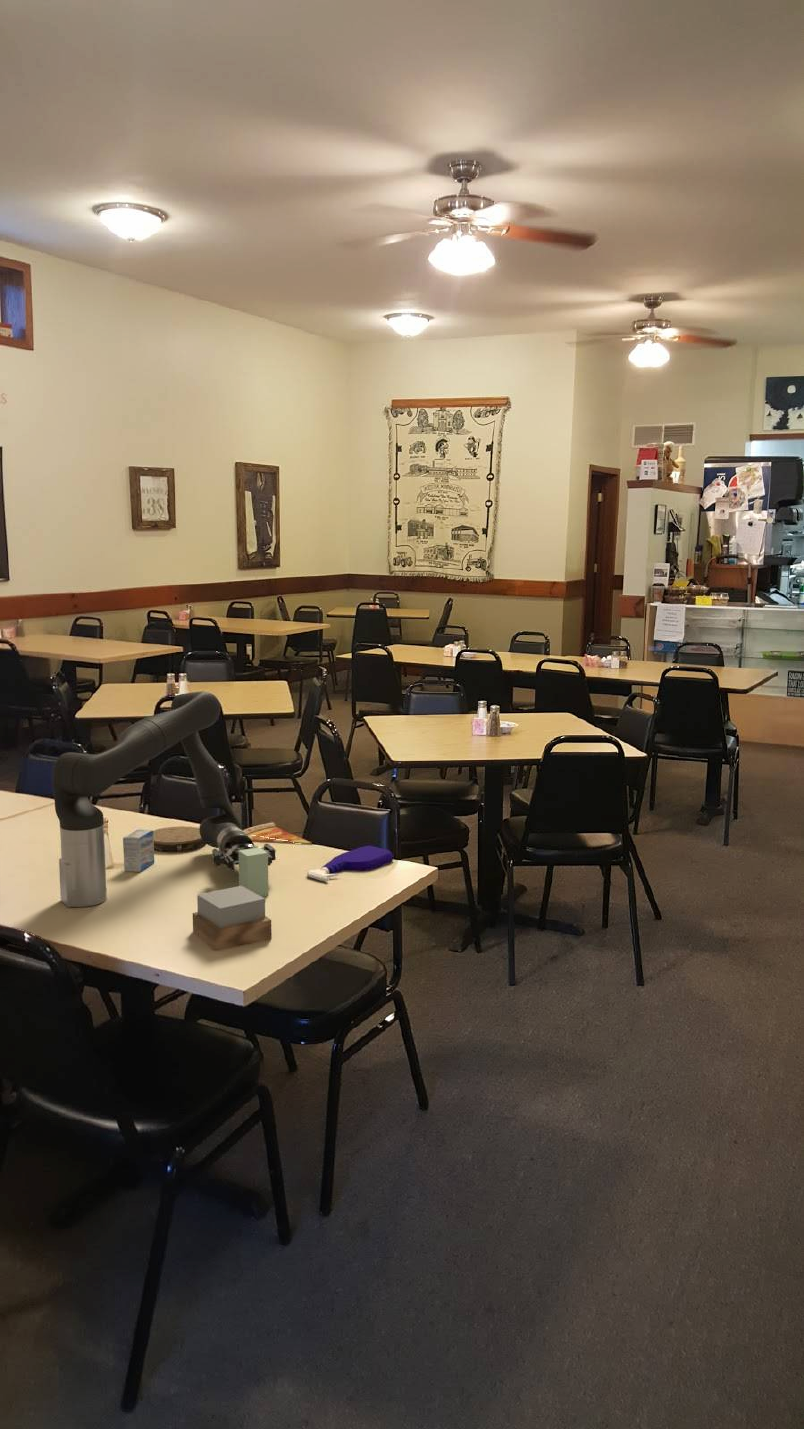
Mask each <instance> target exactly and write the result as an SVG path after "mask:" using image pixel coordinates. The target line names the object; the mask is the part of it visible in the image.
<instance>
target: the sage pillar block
mask: <svg viewBox="0 0 804 1429" xmlns="http://www.w3.org/2000/svg"><path fill="white" fill-rule="evenodd" d="M257 847H258V848H252V849H246V850H239V865H238V884H239V885H238V886H243V887H245V888H246V889H248V890H250V891H252V892H254V893H256V894H257V895H259V896H261V897H263V898H264V897H268V896H269V866H268V853H267V852H266V851H264V850H262V849H261V848H262V847H261V848H259V847H260V846H257Z"/></svg>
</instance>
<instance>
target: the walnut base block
mask: <svg viewBox="0 0 804 1429" xmlns="http://www.w3.org/2000/svg"><path fill="white" fill-rule="evenodd" d="M192 932H193V933H194V934H195V935H196V936H198V937H199V939H201V941H203V942H204V943H205V944H206V945H208V947H210V948H211V949H213V951H215V952H217V951H223V950H227V949H231V948H235V947H241V946H246V945H250V944H251V945H252V944H255V943H260V942H264V941H269V940H272V938H273V937H272V936H273V934H272V919H271V918H269V917H268V916H266V915H265V918H261V919H257V920H253V921H249V922H245V923H240V924H236V925H232V926H227V927H223V928H219V927H218V926H216V925H215V924H213V923H212V922H210V921H208V920H207V919H205V918H204V917H202V916H201V915H199V914H198V911H197V912H195V911H194V912H192Z"/></svg>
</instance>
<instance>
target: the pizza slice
mask: <svg viewBox="0 0 804 1429" xmlns="http://www.w3.org/2000/svg"><path fill="white" fill-rule="evenodd" d="M242 831H244V832H245V833H246V834H247V835H248V837H249V838H250V839H251V840H252V841H253V843H254V842H256V843H275V844H293V845H294V844H295V843H301V844H300V845H310V846H311V845H313V842H312V841H308V840H307V839H304V838H302V837H300V836H297V835H294V834H293V833H291V832H288V831H286V830H283V829H282V828H279V827H276V823H274V822H266V823H261V824H258V825H254V826H251V827H248V828H245V829H242ZM251 835H256V836H251ZM260 836H264V838H263V837H260ZM265 837H269V839H268V838H265ZM270 838H275V839H270ZM276 839H281V840H276ZM282 840H288V841H282ZM293 842H294V843H293ZM295 845H296V844H295Z"/></svg>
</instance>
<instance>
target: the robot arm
mask: <svg viewBox="0 0 804 1429" xmlns="http://www.w3.org/2000/svg"><path fill="white" fill-rule="evenodd" d="M220 714H221V703H220V700H219V699H218V697H217V696H216V695H215V694H213V693H211V692H208V691H203V690H202V691H200V690H199V691H193V692H187V693H180V694H178V695H176V696H175V697H174V698H173V699H172V702H171V704H170V710H169V711H164V712H160V713H156V714H154V715H151V716H148V717H145V718H142V719H140V720H138V721H137V722H135V723H133V724H131V725H129V726H128V727H126V728H125V729H124V730H123V731H122V732H121V733H120V734H119V736H118V739H117V742H116V745H115V746H113V747H112V748H110V749H108V750H106V751H103V752H101V753H97V754H91V753H90V754H89V753H82V752H81V753H79V752H72V751H71V752H70V751H69V752H65V753H63V754H61V755H60V756H59V757H58V758H57V759H56V760H55V762H54V765H53V769H52V792H53V799H54V808H55V815H56V817H57V818H58V822H59V835H60V856H61V858H59V859H58V867H59V868H58V870H59V889H60V901H61V902H62V903H63V904H64V905H65V906H66V908H72V907H75V908H76V907H78V908H81V907H82V908H84V907H91V906H97V905H99V904H102V903H103V902H105V901H106V900H107V874H106V873H107V871H106V851H105V850H106V848H105V844H106V843H105V825H104V823H105V822H104V819H105V818H104V813H103V811H102V810H101V809H100V808H99V807H97V806H96V805H94V804H93V803H92V802H91V801H90V799H89V798H92V797H97V796H99V795H101V794H103V793H104V792H105V791H107V790H108V789H109V788H110V787H112V786H113V785H114V784H116V783H117V782H119V781H120V779H122V778H124V776H125V775H127V774H129V773H130V772H132V771H134V770H136V769H137V768H139V767H140V766H141V765H143V764H145V763H147V762H148V761H151V760H153V759H154V758H155V757H157V756H159V755H162V753H164V752H165V751H167V750H168V749H170V748H171V747H173V746H175V745H177V744H178V743H179V742H181V744H182V747H183V749H184V752H185V755H186V756H187V759H188V761H189V764H190V767H191V770H192V772H193V776H194V780H195V785H196V789H197V793H198V794H197V795H198V798H199V802H200V805H201V807H202V808H203V809H220V810H222V813H220V814H217V815H213V816H210V817H206V818H205V819H203V820H202V821H201V823H200V824H199V827H198V828H199V831H200V835H201V838H202V839H203V841H204V842H205V843H206V846H207V845H208V846H209V847H212V848H213V849H212V850H211V854H212V855H211V856H212V857H211V858H212V861H213V864H214V865H215V867H220V866H222V865H223V866H224V867H226V868H227V869H230V871H232V870H235V865H236V866H239V850H246V849H252V848H258V847H259V848H261V849H262V850H264V851H266V852H267V853H268V867H270V866H271V864H273V861H276V848H274V846H272V845H270V844H269V843H264V844H263V847H261V846H258V845H255V844H254V842H253V841H252V840H251V839H250V838H249V837H248V835H247V834H246V833H245V832H244V831H242V830H243V828H242V823H241V820H240V819H239V817H238V815H237V813H236V812H235V810H234V808H233V806H232V804H231V802H230V799H229V796H228V794H227V788H226V783H225V780H224V776H223V773H222V770H221V768H220V767H219V764H218V763H217V762H216V761H215V759H214V758H213V756H212V755H211V754H210V753H209V751H208V749H206V747H205V746H204V744H203V742H202V740H201V737H200V734H199V732H200V731H201V730H204V729H206V728H209V727H211V726H213V725H214V724H215V723H216V722H217V721H218V719H219V718H220Z"/></svg>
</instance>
